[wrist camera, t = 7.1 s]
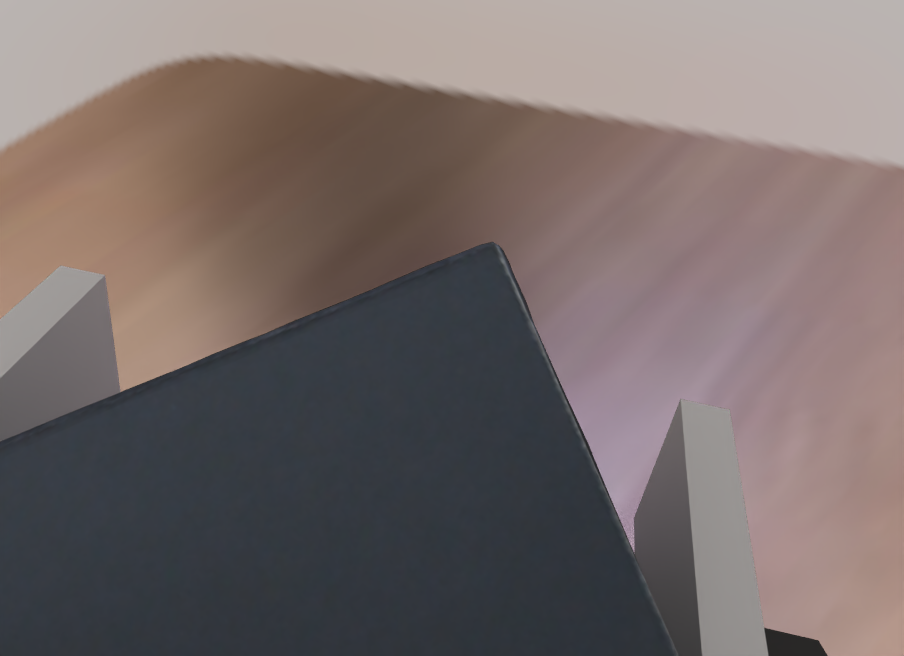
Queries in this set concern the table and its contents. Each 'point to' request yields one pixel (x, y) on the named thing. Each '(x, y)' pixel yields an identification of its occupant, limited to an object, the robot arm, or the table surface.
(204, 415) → the box
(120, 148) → the table surface
